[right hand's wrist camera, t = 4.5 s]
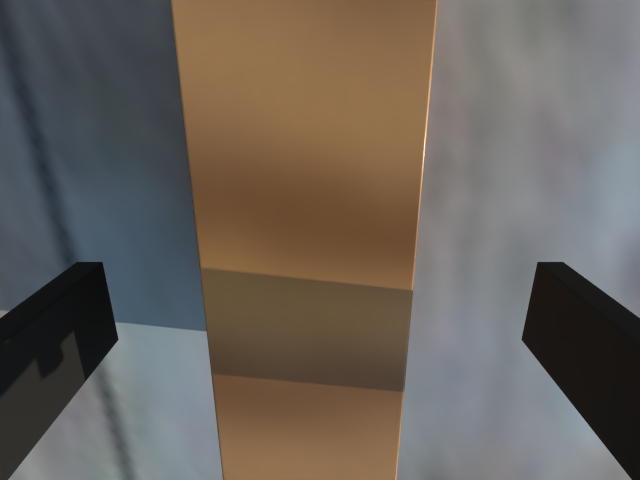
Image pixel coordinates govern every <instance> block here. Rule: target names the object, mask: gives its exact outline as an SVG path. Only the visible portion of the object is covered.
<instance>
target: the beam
mask: <svg viewBox="0 0 640 480" xmlns="http://www.w3.org/2000/svg"><path fill="white" fill-rule="evenodd" d="M170 2H171V11H172V20H173V30H174V39H175V48H176V57H177V66H178V75H179V84H180V93H181V102H182V111H183V120H184V129H185V138H186V147H187V157H188V166H189V175H190V184H191V193H192V202H193V211H194V220H195V229H196V238H197V247H198V256H199V265H200V274H201V284H202V293H203V302H204V311H205V320H206V329H207V338H208V347H209V356H210V365H211V374H212V383H213V392H214V401H215V411H216V420H217V429H218V438H219V447H220V456H221V465H222V474H223V480H396V479H397V468H398V456H399V445H400V433H401V422H402V410H403V399H404V387H405V376H406V364H407V353H408V341H409V330H410V318H411V307H412V295H413V284H414V272H415V261H416V250H417V238H418V227H419V215H420V204H421V192H422V181H423V169H424V158H425V146H426V135H427V123H428V112H429V100H430V89H431V77H432V66H433V54H434V43H435V31H436V20H437V8H438V0H170Z"/></svg>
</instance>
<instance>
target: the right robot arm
mask: <svg viewBox="0 0 640 480" xmlns="http://www.w3.org/2000/svg"><path fill="white" fill-rule="evenodd" d="M117 341H118V335H117V331H116V326H115V321H114V316H113V311H112V306H111V302H110V297H109V292H108V287H107V282H106V277H105V272H104V268H103V263H102V262H76V263H75V264H74V265H72V266H71V267H70V268H68V269H67V270H65V271H64V272H63V273H61V274H60V275H59V276H57V277H56V278H55V279H53V280H52V281H51V282H49V283H48V284H46V285H45V286H44V287H42V288H41V289H40V290H38V291H37V292H36V293H34V294H33V295H31V296H30V297H29V298H27V299H26V300H25V301H23V302H22V303H21V304H19V305H18V306H16V307H15V308H14V309H12V310H11V311H10V312H8V313H7V314H6V315H4V316H3V317H1V318H0V480H8V479H9V478H10V477H11V475H12V474H13V473H14V471H15V470H16V469H17V468H18V466H19V465H20V464H21V463H22V461H23V460H24V459H25V457H26V456H27V455H28V454H29V452H30V451H31V450H32V449H33V447H34V446H35V445H36V444H37V442H38V441H39V440H40V438H41V437H42V436H43V435H44V433H45V432H46V431H47V430H48V428H49V427H50V426H51V424H52V423H53V422H54V421H55V419H56V418H57V417H58V416H59V414H60V413H61V412H62V411H63V409H64V408H65V407H66V405H67V404H68V403H69V402H70V400H71V399H72V398H73V397H74V395H75V394H76V393H77V391H78V390H79V389H80V388H81V386H82V385H83V384H84V383H85V381H86V380H87V379H88V378H89V376H90V375H91V374H92V372H93V371H94V370H95V369H96V367H97V366H98V365H99V364H100V362H101V361H102V360H103V358H104V357H105V356H106V355H107V353H108V352H109V351H110V350H111V348H112V347H113V346H114V345H115V343H116V342H117ZM522 341H523V342H524V343H525V345H526V346H527V347H528V348H529V350H530V351H531V352H532V353H533V355H534V356H535V357H536V358H537V360H538V361H539V362H540V364H541V365H542V366H543V367H544V369H545V370H546V371H547V372H548V374H549V375H550V376H551V378H552V379H553V380H554V381H555V383H556V384H557V385H558V386H559V388H560V389H561V390H562V391H563V393H564V394H565V395H566V397H567V398H568V399H569V400H570V402H571V403H572V404H573V405H574V407H575V408H576V409H577V411H578V412H579V413H580V414H581V416H582V417H583V418H584V419H585V421H586V422H587V423H588V424H589V426H590V427H591V428H592V430H593V431H594V432H595V433H596V435H597V436H598V437H599V438H600V440H601V441H602V442H603V444H604V445H605V446H606V447H607V449H608V450H609V451H610V452H611V454H612V455H613V456H614V457H615V459H616V460H617V461H618V463H619V464H620V465H621V466H622V468H623V469H624V470H625V471H626V473H627V474H628V475H629V477H630V478H631V479H632V480H640V318H639V317H637V316H636V315H634V314H633V313H632V312H630V311H629V310H628V309H626V308H625V307H624V306H622V305H621V304H619V303H618V302H617V301H615V300H614V299H613V298H611V297H610V296H609V295H607V294H606V293H604V292H603V291H602V290H600V289H599V288H598V287H596V286H595V285H594V284H592V283H591V282H589V281H588V280H587V279H585V278H584V277H583V276H581V275H580V274H579V273H577V272H576V271H575V270H573V269H572V268H570V267H569V266H568V265H566V264H565V263H564V262H538V263H537V268H536V272H535V277H534V282H533V287H532V292H531V297H530V302H529V306H528V311H527V316H526V321H525V326H524V331H523V335H522Z"/></svg>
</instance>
